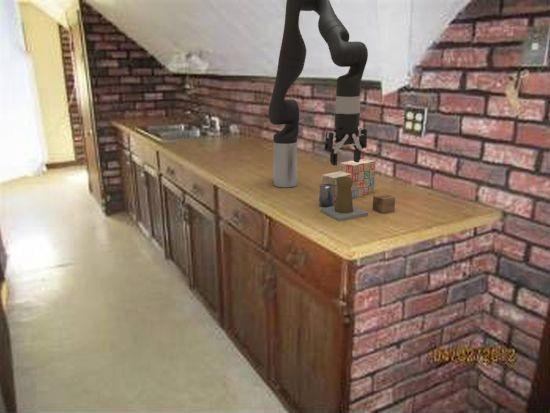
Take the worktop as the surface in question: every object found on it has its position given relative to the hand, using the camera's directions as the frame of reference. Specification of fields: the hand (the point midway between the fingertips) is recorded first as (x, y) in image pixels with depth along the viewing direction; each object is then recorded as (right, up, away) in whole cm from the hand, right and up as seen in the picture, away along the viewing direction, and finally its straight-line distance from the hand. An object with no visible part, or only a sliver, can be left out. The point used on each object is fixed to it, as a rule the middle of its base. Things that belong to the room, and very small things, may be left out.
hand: (345, 163), depth 148 cm
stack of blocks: (+5, -10, +24) cm, 27 cm away
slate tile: (0, -16, +5) cm, 17 cm away
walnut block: (+14, -15, +7) cm, 22 cm away
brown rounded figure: (0, -15, +5) cm, 16 cm away
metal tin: (-4, -13, +13) cm, 19 cm away
